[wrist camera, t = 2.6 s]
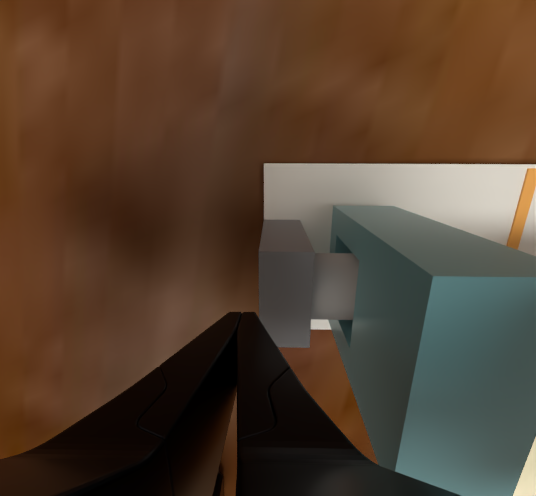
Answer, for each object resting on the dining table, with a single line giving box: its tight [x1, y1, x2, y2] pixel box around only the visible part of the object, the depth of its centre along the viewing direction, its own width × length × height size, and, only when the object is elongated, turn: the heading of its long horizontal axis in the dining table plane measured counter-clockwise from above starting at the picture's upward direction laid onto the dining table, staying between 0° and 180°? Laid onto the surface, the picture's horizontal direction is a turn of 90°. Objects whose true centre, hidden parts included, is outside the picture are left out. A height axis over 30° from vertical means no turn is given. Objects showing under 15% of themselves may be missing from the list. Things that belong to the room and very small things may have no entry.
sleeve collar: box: [328, 205, 536, 496], centre depth 10 cm, size 3×6×9 cm, turn 0°
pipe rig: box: [259, 163, 536, 348], centre depth 14 cm, size 20×10×7 cm, turn 90°
